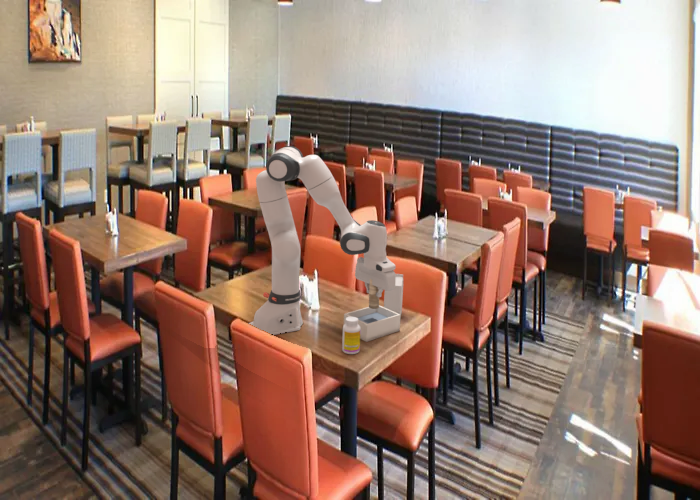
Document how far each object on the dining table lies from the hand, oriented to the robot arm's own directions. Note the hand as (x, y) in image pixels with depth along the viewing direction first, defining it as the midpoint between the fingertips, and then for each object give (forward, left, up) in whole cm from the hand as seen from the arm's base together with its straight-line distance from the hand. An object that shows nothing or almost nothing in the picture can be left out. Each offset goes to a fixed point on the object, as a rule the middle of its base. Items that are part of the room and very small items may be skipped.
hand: (374, 295), depth 232 cm
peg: (0, 0, -5) cm, 5 cm away
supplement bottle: (-19, -9, -16) cm, 26 cm away
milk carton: (+18, +7, -16) cm, 25 cm away
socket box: (0, 0, -15) cm, 15 cm away
